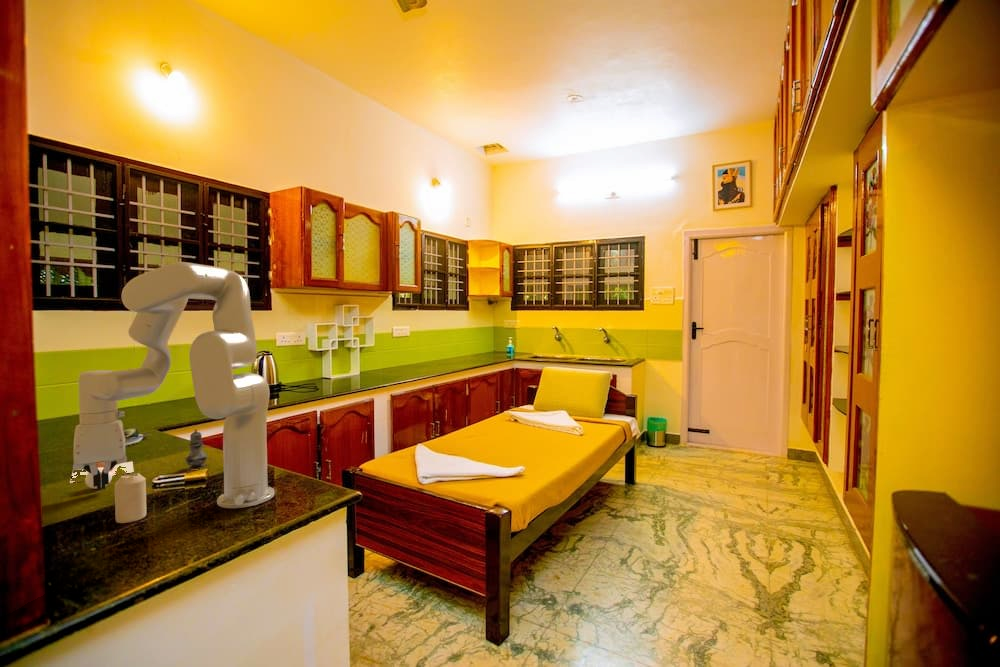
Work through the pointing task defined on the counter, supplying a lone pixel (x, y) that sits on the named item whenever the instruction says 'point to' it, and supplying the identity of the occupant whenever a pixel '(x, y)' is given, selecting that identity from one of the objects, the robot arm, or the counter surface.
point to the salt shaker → (196, 452)
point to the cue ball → (90, 478)
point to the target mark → (128, 468)
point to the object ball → (102, 465)
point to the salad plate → (133, 436)
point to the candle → (130, 498)
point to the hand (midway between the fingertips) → (101, 488)
